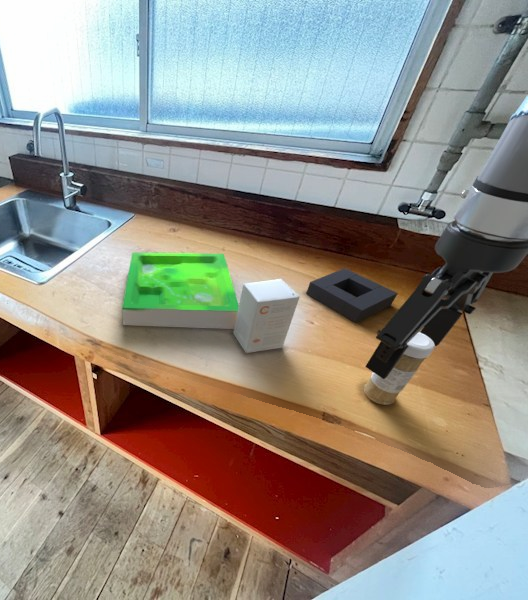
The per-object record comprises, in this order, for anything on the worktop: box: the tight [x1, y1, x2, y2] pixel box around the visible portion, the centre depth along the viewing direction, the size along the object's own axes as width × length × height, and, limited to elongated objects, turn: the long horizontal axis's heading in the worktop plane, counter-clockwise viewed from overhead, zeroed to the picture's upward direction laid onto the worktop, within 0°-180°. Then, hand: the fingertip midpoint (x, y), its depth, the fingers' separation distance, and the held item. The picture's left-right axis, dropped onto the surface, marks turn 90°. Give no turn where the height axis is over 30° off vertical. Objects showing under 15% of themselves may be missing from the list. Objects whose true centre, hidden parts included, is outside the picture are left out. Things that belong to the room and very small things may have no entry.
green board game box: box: [121, 252, 239, 330], centre depth 80 cm, size 25×25×5 cm
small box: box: [233, 278, 300, 354], centre depth 63 cm, size 8×6×13 cm
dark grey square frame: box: [305, 267, 399, 324], centre depth 76 cm, size 13×13×4 cm
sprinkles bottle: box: [363, 331, 436, 406], centre depth 51 cm, size 5×5×14 cm
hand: (402, 355), depth 50 cm, fingers open, 13 cm apart
